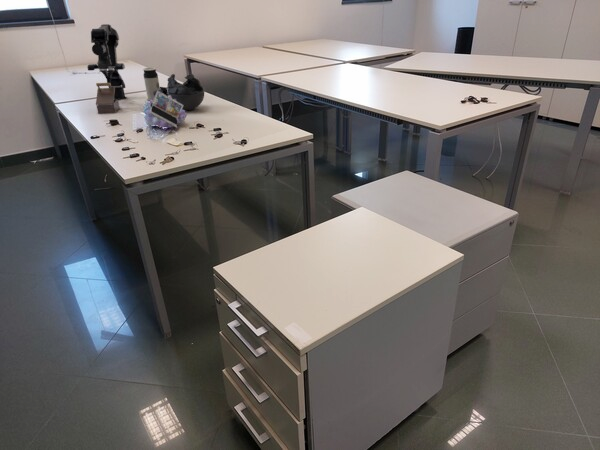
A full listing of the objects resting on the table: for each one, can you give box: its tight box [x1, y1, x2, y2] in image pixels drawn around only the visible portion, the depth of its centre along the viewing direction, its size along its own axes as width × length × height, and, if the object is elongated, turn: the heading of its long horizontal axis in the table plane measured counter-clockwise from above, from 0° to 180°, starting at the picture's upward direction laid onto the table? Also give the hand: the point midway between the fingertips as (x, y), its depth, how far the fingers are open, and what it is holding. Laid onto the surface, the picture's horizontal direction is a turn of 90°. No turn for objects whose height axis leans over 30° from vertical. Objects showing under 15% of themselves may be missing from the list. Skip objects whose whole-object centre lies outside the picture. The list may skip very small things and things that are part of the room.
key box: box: [95, 99, 120, 115], centre depth 231 cm, size 11×9×5 cm
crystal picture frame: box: [142, 90, 187, 131], centre depth 204 cm, size 20×22×18 cm
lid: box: [95, 82, 115, 105], centre depth 226 cm, size 12×9×6 cm
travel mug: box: [142, 67, 161, 101], centre depth 250 cm, size 8×8×18 cm
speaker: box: [153, 86, 168, 97], centre depth 239 cm, size 8×6×10 cm
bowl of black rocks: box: [166, 73, 205, 111], centre depth 230 cm, size 20×20×19 cm
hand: (109, 82), depth 239 cm, fingers closed
